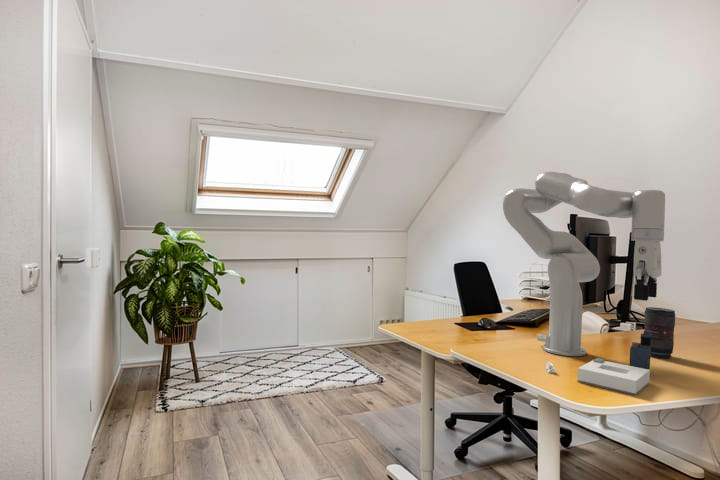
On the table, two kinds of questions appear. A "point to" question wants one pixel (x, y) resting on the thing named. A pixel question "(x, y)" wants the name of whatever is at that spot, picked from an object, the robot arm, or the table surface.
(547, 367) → the power adapter
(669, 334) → the camera lens
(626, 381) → the socket block
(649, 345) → the vaping device
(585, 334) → the table surface
